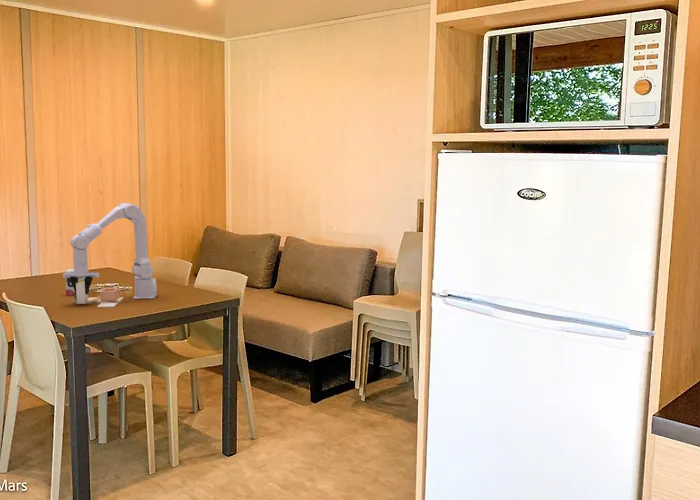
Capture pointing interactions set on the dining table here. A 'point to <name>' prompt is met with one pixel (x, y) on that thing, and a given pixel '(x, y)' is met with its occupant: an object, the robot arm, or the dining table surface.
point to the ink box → (69, 286)
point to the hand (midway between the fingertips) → (82, 294)
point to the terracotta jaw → (109, 294)
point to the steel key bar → (81, 293)
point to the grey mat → (107, 305)
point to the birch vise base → (99, 300)
